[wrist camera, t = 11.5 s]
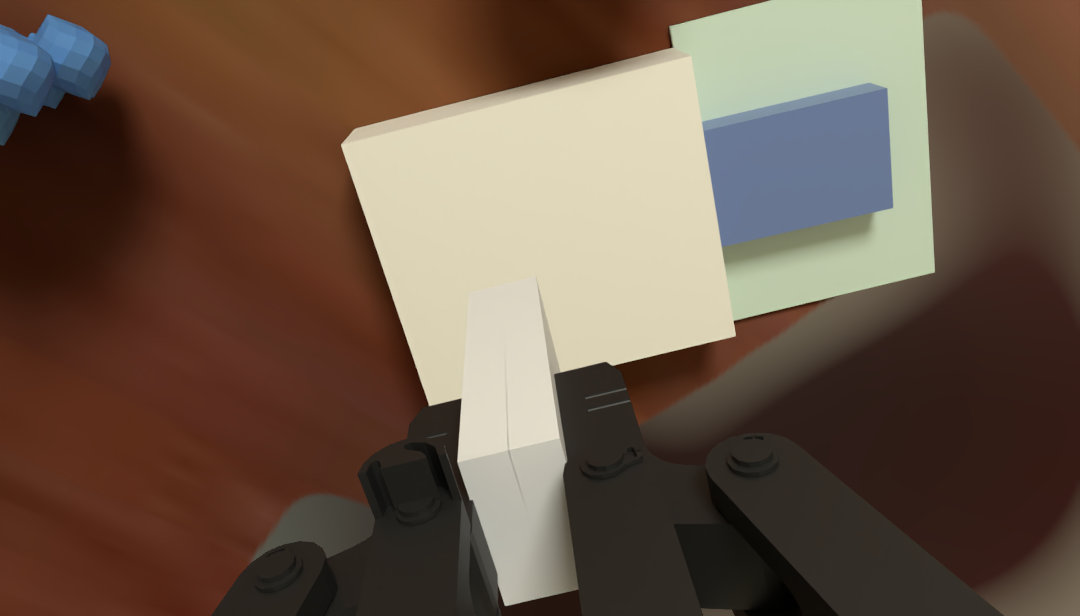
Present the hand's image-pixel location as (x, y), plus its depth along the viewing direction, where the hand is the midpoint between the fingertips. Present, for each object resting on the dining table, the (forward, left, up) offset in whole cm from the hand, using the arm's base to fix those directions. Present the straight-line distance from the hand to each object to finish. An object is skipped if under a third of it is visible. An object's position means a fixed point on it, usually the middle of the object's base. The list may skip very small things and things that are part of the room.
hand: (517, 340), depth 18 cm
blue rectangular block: (+14, -5, -24) cm, 28 cm away
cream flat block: (+1, -5, -24) cm, 25 cm away
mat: (+15, -5, -24) cm, 29 cm away
